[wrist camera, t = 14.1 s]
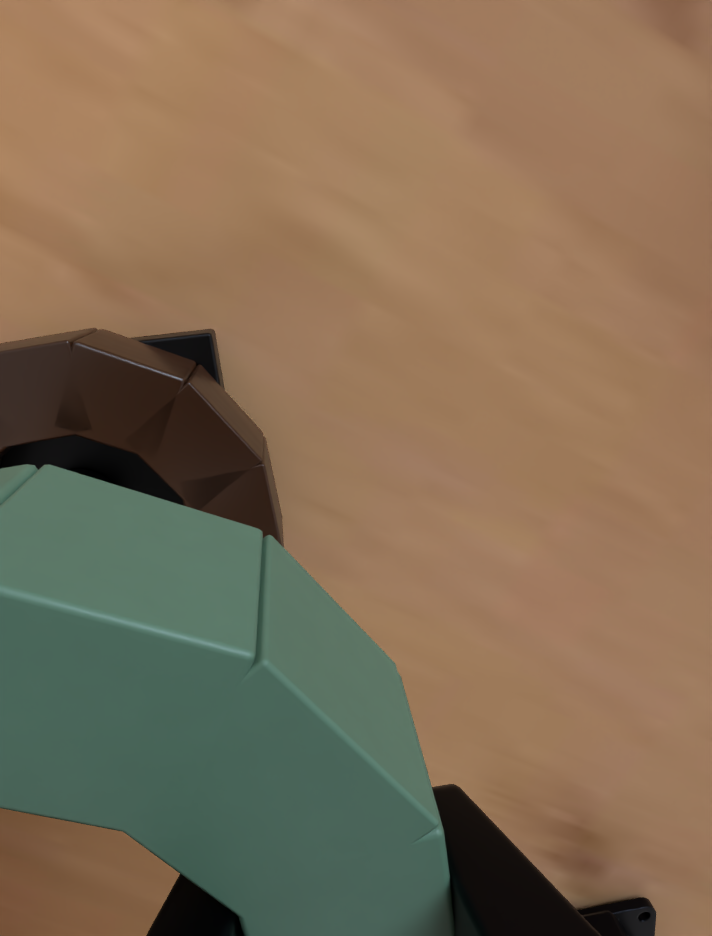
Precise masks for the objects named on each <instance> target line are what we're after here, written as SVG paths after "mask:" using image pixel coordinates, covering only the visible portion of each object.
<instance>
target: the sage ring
mask: <svg viewBox="0 0 712 936" xmlns="http://www.w3.org/2000/svg"><path fill="white" fill-rule="evenodd" d="M0 808H3V809H8V810H13V811H19V812H24V813H29V814H34V815H39V816H45V817H50V818H55V819H60V820H66V821H71V822H76V823H81V824H86V825H92V826H97V827H102V828H107V829H113V830H118V831H123V832H124V833H126V834H127V835H128V836H130V837H131V838H133V839H134V840H135V841H137V842H138V843H139V844H141V845H142V846H143V847H145V848H146V849H148V850H149V851H150V852H152V853H153V854H154V855H156V856H157V857H158V858H160V859H161V860H163V861H164V862H165V863H167V864H168V865H169V866H171V867H172V868H173V869H175V870H176V871H178V872H179V873H180V874H182V875H183V876H184V877H186V878H187V879H188V880H190V881H191V882H193V883H194V884H195V885H197V886H198V887H199V888H201V889H202V890H203V891H205V892H206V893H208V894H209V895H210V896H212V897H213V898H214V899H216V900H217V901H218V902H220V903H221V904H223V905H224V906H225V907H227V908H228V909H229V910H231V911H232V912H233V913H235V914H236V915H238V917H239V921H240V924H241V928H242V931H243V934H244V936H455V927H454V913H453V902H452V890H451V880H450V873H449V865H448V858H447V850H446V843H445V835H444V829H443V826H442V822H441V819H440V815H439V811H438V808H437V804H436V801H435V797H434V794H433V790H432V786H431V783H430V779H429V776H428V772H427V769H426V765H425V761H424V758H423V754H422V751H421V747H420V744H419V740H418V736H417V733H416V729H415V726H414V722H413V718H412V715H411V711H410V708H409V704H408V701H407V697H406V693H405V690H404V686H403V683H402V679H401V676H400V675H399V673H398V672H397V668H396V665H395V663H394V662H393V661H392V660H391V659H390V658H389V657H388V656H387V655H386V654H385V653H384V651H383V650H382V649H381V648H380V647H379V646H378V645H377V644H376V643H375V642H374V641H373V640H372V639H371V638H370V637H369V636H368V635H367V634H366V633H365V632H364V631H363V630H362V629H361V628H360V627H359V626H358V624H357V623H356V622H355V621H354V620H353V619H352V618H351V617H350V616H349V615H348V614H347V613H346V612H345V611H344V610H343V609H342V608H341V607H340V606H339V605H338V604H337V603H336V602H335V601H334V600H333V598H332V597H331V596H330V595H329V594H328V593H327V592H326V591H325V590H324V589H323V588H322V587H321V586H320V585H319V584H318V583H317V582H316V581H315V580H314V579H313V578H312V577H311V576H310V575H309V574H308V573H307V571H306V570H305V569H304V568H303V567H302V566H301V565H300V564H299V563H298V562H297V561H296V560H295V559H294V558H293V557H292V556H291V555H290V554H289V553H288V552H287V551H286V550H285V549H284V548H283V547H282V546H281V544H280V543H279V542H278V541H277V540H276V539H275V538H274V537H273V536H271V535H267V536H265V537H264V538H263V533H262V531H261V530H260V529H258V528H255V527H251V526H248V525H245V524H242V523H238V522H235V521H232V520H229V519H225V518H222V517H219V516H216V515H212V514H209V513H206V512H203V511H199V510H196V509H193V508H190V507H186V506H183V505H180V504H177V503H173V502H170V501H167V500H164V499H160V498H157V497H154V496H150V495H147V494H144V493H141V492H137V491H134V490H131V489H128V488H124V487H121V486H118V485H115V484H111V483H108V482H105V481H102V480H98V479H95V478H92V477H89V476H85V475H82V474H79V473H76V472H72V471H69V470H66V469H63V468H59V467H56V466H53V465H43V466H42V467H41V468H40V469H39V470H38V469H37V468H36V466H35V465H29V464H25V465H19V466H13V467H7V468H1V469H0Z"/></svg>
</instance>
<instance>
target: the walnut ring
mask: <svg viewBox="0 0 712 936" xmlns="http://www.w3.org/2000/svg"><path fill="white" fill-rule="evenodd" d="M73 435H76V436H79V437H82V438H85V439H89V440H92V441H95V442H98V443H102V444H105V445H108V446H111V447H114V448H118V449H121V450H124V451H127V452H131V453H134V454H137V455H138V456H139V457H140V458H141V459H142V460H143V461H144V462H145V463H146V464H147V465H148V466H149V467H150V468H151V469H152V470H153V471H154V472H155V473H156V474H157V475H158V476H159V477H160V478H161V479H162V480H163V481H164V482H165V483H166V484H167V485H169V486H170V487H171V488H172V489H173V490H174V491H175V492H176V493H177V494H178V495H179V496H180V497H181V498H182V499H183V503H184V506H186V507H190V508H193V509H196V510H199V511H203V512H206V513H209V514H212V515H216V516H219V517H222V518H225V519H229V520H232V521H235V522H238V523H242V524H245V525H248V526H251V527H255V528H258V529H260V530H261V531H262V533H263V538H264V537H265V536H267V535H271V536H273V537H274V538H275V539H276V540H277V541H278V542H279V543H280V544H281V546H282V547H283V548H284V544H283V525H282V514H281V509H280V504H279V500H278V495H277V490H276V485H275V481H274V476H273V471H272V466H271V461H270V457H269V452H268V447H267V442H266V438H265V437H263V432H262V431H261V430H260V429H259V428H258V427H257V426H256V424H255V423H254V422H253V421H252V420H251V419H250V418H249V417H248V416H247V415H246V413H245V412H244V411H243V410H242V409H241V408H240V407H239V406H238V405H237V404H236V402H235V401H234V400H233V399H232V398H231V397H230V396H229V395H228V394H227V393H226V392H225V390H224V389H223V388H222V387H221V386H220V385H219V384H218V383H217V382H216V381H215V379H214V378H213V377H212V376H211V375H210V374H209V373H208V372H207V371H206V370H205V368H204V367H203V366H202V365H197V366H196V362H194V361H193V360H190V359H187V358H184V357H181V356H179V355H176V354H173V353H170V352H167V351H164V350H161V349H159V348H156V347H153V346H150V345H147V344H144V343H141V342H139V341H136V340H133V339H130V338H127V337H124V336H121V335H119V334H116V333H113V332H110V331H107V330H104V329H100V330H97V329H96V328H90V329H84V330H78V331H72V332H66V333H60V334H54V335H48V336H42V337H36V338H30V339H24V340H18V341H12V342H6V343H0V464H1V460H2V456H3V455H5V454H6V453H7V452H8V451H9V450H10V449H11V448H13V447H14V446H17V445H22V444H28V443H33V442H39V441H45V440H50V439H56V438H61V437H67V436H73Z"/></svg>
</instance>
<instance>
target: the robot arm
mask: <svg viewBox="0 0 712 936" xmlns="http://www.w3.org/2000/svg"><path fill="white" fill-rule="evenodd" d="M432 790H433V794H434V797H435V801H436V804H437V808H438V811H439V815H440V819H441V822H442V826H443V829H444V835H445V843H446V850H447V858H448V865H449V873H450V880H451V890H452V902H453V913H454V927H455V936H654V935H655V922H656V911H655V909H654V908H653V906H652V904H651V902H650V901H649V900H648V899H647V898H636V899H631V900H626V901H621V902H616V903H611V904H606V905H601V906H596V907H592V908H587V909H582V910H576V909H575V908H574V907H573V906H572V905H571V904H570V903H569V901H568V900H567V899H566V898H565V897H564V896H563V895H562V894H561V893H560V892H559V891H558V890H557V889H556V888H555V887H554V886H553V885H552V884H551V883H550V882H549V881H548V879H547V878H546V877H545V876H544V875H543V874H542V873H541V872H540V871H539V870H538V869H537V868H536V867H535V866H534V865H533V864H532V863H531V862H530V861H529V860H528V859H527V857H526V856H525V855H524V854H523V853H522V852H521V851H520V850H519V849H518V848H517V847H516V846H515V845H514V844H513V843H512V842H511V841H510V840H509V839H508V838H507V836H506V835H505V834H504V833H503V832H502V831H501V830H500V829H499V828H498V827H497V826H496V825H495V824H494V823H493V822H492V821H491V820H490V819H489V818H488V817H487V816H486V814H485V813H484V812H483V811H482V810H481V809H480V808H479V807H478V806H477V805H476V804H475V803H474V802H473V801H472V800H471V799H470V798H469V797H468V796H467V795H466V794H465V792H464V791H463V790H462V789H461V788H460V787H458V786H457V785H454V784H448V785H442V786H436V787H432ZM146 936H244V934H243V931H242V928H241V924H240V921H239V917H238V915H236V914H235V913H233V912H232V911H231V910H229V909H228V908H227V907H225V906H224V905H223V904H221V903H220V902H218V901H217V900H216V899H214V898H213V897H212V896H210V895H209V894H208V893H206V892H205V891H203V890H202V889H201V888H199V887H198V886H197V885H195V884H194V883H193V882H191V881H190V880H188V879H187V878H186V877H184V876H183V875H182V874H180V875H179V877H178V879H177V881H176V882H175V884H174V886H173V888H172V890H171V892H170V893H169V895H168V897H167V899H166V901H165V902H164V904H163V906H162V908H161V910H160V912H159V913H158V915H157V917H156V919H155V921H154V922H153V924H152V926H151V928H150V930H149V932H148V933H147V935H146Z"/></svg>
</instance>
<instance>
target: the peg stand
mask: <svg viewBox="0 0 712 936" xmlns="http://www.w3.org/2000/svg"><path fill="white" fill-rule="evenodd" d="M130 339H133V340H136V341H139V342H141V343H144V344H147V345H150V346H153V347H156V348H159V349H161V350H164V351H167V352H170V353H173V354H176V355H179V356H181V357H184V358H187V359H190V360H193V361H194V362H196V366H197V365H202V366H203V367H204V368H205V370H206V371H207V372H208V373H209V374H210V375H211V376H212V377H213V378H214V379H215V381H216V382H217V383H218V384H219V385H220V386H221V387H222V388H223V389H224V384H223V378H222V372H221V366H220V360H219V354H218V348H217V342H216V336H215V331H214V330H213V329H206V330H197V331H188V332H179V333H170V334H162V335H153V336H144V337H135V338H130ZM224 390H225V389H224ZM25 464H29V465H35V466H36V468H37V469H38V470H39V469H40V468H41V467H42V466H43V465H53V466H56V467H59V468H63V469H66V470H69V471H72V472H76V473H79V474H82V475H85V476H89V477H92V478H95V479H98V480H102V481H105V482H108V483H111V484H115V485H118V486H121V487H124V488H128V489H131V490H134V491H137V492H141V493H144V494H147V495H150V496H154V497H157V498H160V499H164V500H167V501H170V502H173V503H177V504H180V505H183V506H184V503H183V499H182V498H181V497H180V496H179V495H178V494H177V493H176V492H175V491H174V490H173V489H172V488H171V487H170V486H169V485H167V484H166V483H165V482H164V481H163V480H162V479H161V478H160V477H159V476H158V475H157V474H156V473H155V472H154V471H153V470H152V469H151V468H150V467H149V466H148V465H147V464H146V463H145V462H144V461H143V460H142V459H141V458H140V457H139V456H138V455H137V454H134V453H131V452H127V451H124V450H121V449H118V448H114V447H111V446H108V445H105V444H102V443H98V442H95V441H92V440H89V439H85V438H82V437H79V436H76V435H73V436H67V437H61V438H56V439H50V440H45V441H39V442H33V443H28V444H22V445H17V446H14V447H13V448H11V449H10V450H9V451H8V452H7V453H6V454H5V455H3V456H2V460H1V464H0V469H1V468H7V467H13V466H19V465H25Z"/></svg>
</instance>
